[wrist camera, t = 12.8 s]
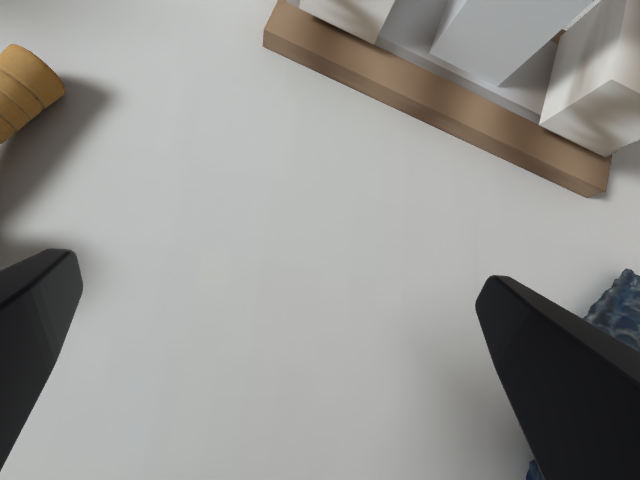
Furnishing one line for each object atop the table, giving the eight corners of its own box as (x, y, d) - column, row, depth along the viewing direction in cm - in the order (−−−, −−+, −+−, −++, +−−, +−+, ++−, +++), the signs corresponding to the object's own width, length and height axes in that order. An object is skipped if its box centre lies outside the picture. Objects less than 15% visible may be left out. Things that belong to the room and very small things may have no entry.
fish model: (463, 562, 21) (532, 638, 16) (583, 251, 26) (661, 238, 22) (557, 617, 21) (651, 708, 16) (655, 302, 27) (746, 300, 22)
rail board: (609, 76, 29) (723, 2, 22) (586, 197, 27) (707, 157, 20) (321, -74, 27) (348, -211, 20) (262, 46, 24) (270, -64, 17)
